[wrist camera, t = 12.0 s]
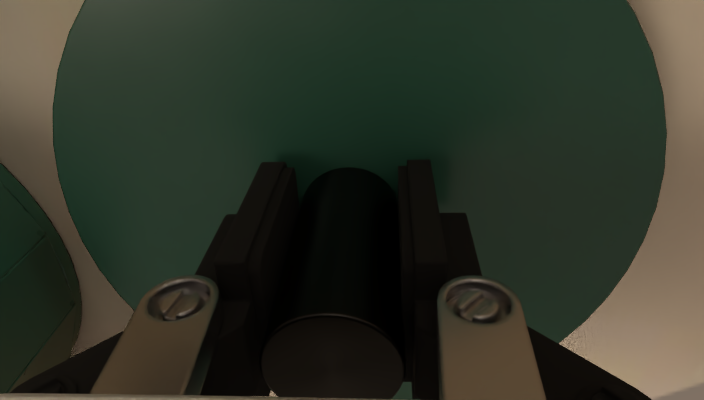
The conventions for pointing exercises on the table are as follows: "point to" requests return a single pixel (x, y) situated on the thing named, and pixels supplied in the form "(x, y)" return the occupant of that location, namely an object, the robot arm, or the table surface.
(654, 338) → the table surface
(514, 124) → the lid
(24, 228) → the pot
